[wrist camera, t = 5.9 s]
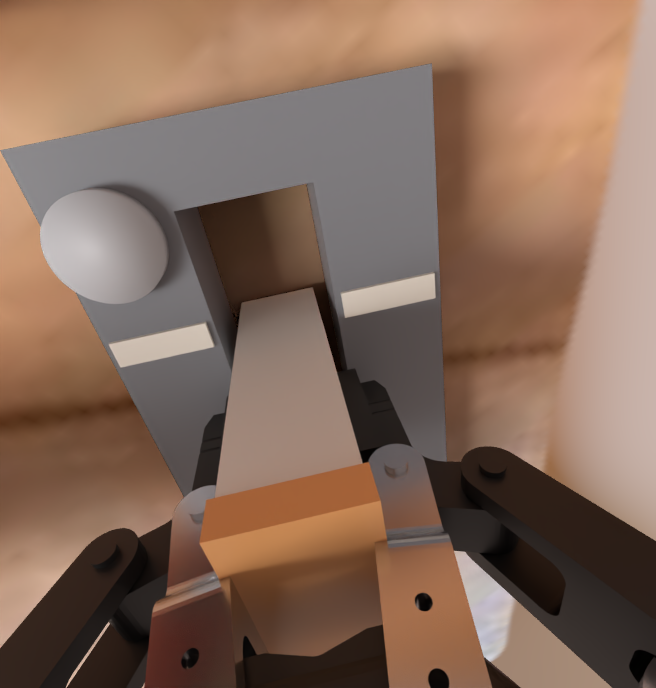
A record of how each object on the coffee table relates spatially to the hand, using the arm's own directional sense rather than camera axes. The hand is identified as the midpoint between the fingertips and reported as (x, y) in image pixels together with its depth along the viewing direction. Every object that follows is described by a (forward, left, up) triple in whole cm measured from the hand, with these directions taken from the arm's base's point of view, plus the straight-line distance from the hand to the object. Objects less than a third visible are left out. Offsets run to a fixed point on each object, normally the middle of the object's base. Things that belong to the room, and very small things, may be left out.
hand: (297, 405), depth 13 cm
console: (0, -1, -4) cm, 4 cm away
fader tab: (0, 0, -4) cm, 4 cm away
